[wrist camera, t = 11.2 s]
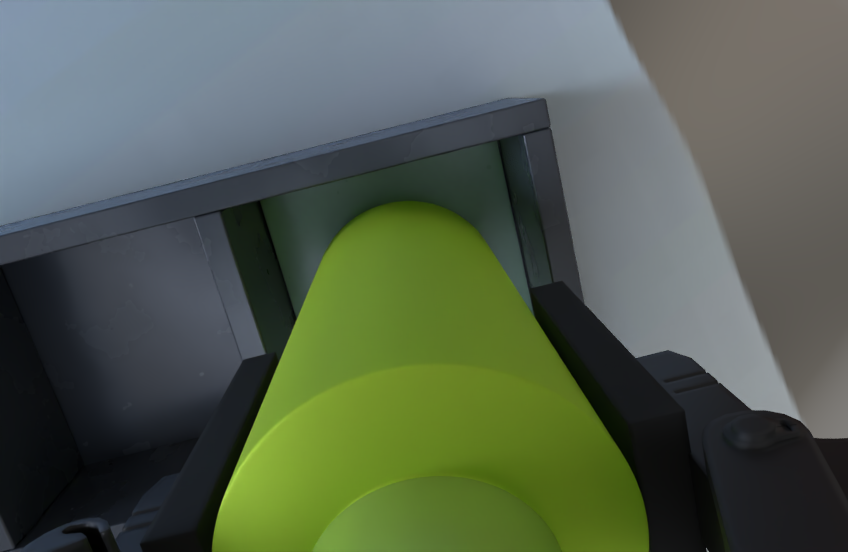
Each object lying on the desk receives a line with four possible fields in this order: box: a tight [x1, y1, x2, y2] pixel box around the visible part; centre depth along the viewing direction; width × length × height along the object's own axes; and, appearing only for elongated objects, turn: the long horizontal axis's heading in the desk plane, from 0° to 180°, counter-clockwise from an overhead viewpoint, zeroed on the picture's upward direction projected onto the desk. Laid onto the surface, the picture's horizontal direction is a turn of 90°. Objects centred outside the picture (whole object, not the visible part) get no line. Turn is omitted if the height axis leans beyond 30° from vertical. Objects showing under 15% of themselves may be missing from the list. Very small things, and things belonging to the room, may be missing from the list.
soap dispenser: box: [212, 201, 649, 552], centre depth 12 cm, size 6×7×20 cm
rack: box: [0, 98, 584, 552], centre depth 24 cm, size 19×19×6 cm
